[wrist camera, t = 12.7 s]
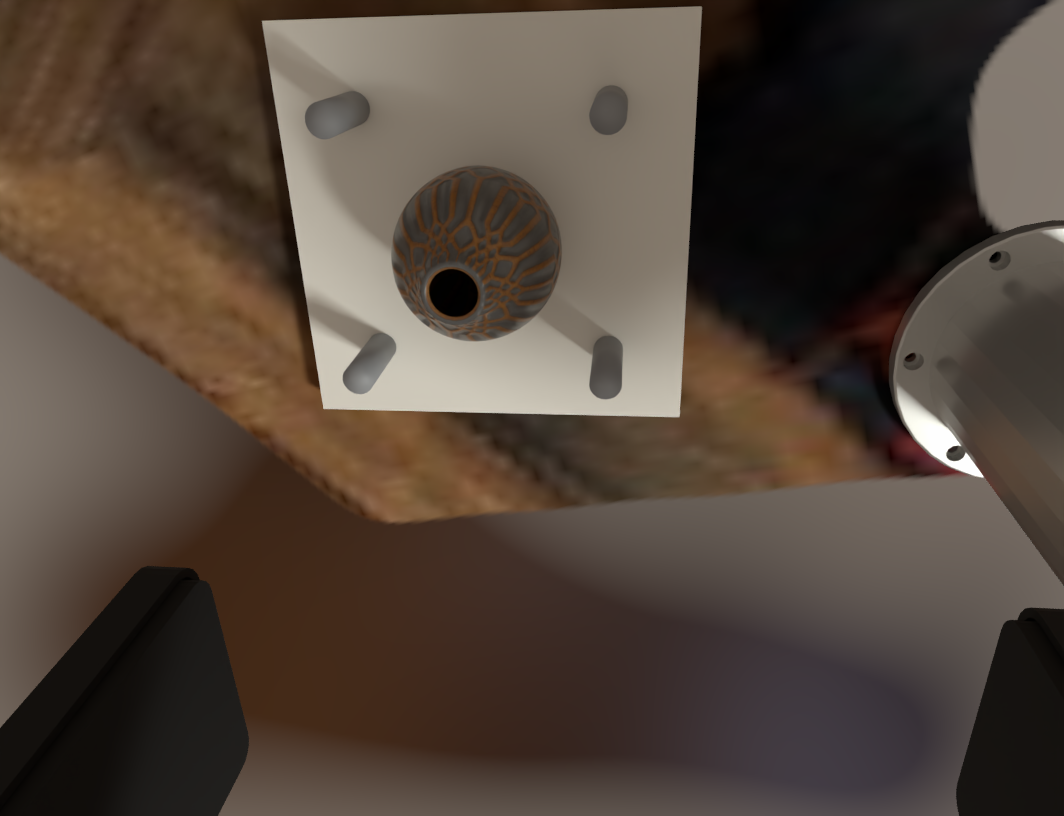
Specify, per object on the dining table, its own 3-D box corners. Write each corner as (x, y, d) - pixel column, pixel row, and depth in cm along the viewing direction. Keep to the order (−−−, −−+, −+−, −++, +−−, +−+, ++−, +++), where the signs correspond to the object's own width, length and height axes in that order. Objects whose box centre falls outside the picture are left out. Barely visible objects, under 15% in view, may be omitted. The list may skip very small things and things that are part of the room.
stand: (699, 6, 33) (710, 7, 28) (677, 403, 41) (683, 457, 36) (275, 20, 35) (218, 23, 31) (333, 396, 43) (294, 446, 39)
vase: (590, 275, 37) (578, 348, 30) (454, 324, 39) (409, 405, 31) (532, 128, 35) (502, 165, 27) (390, 187, 37) (324, 238, 29)
